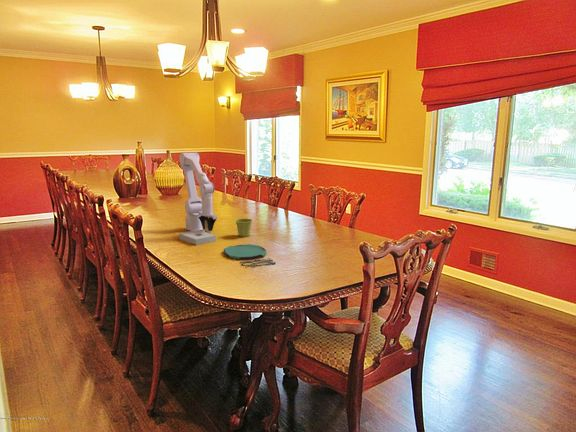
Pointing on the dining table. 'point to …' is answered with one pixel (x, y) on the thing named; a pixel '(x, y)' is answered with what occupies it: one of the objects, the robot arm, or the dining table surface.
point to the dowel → (207, 228)
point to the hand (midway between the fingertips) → (207, 229)
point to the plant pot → (243, 227)
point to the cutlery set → (247, 253)
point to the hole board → (197, 237)
